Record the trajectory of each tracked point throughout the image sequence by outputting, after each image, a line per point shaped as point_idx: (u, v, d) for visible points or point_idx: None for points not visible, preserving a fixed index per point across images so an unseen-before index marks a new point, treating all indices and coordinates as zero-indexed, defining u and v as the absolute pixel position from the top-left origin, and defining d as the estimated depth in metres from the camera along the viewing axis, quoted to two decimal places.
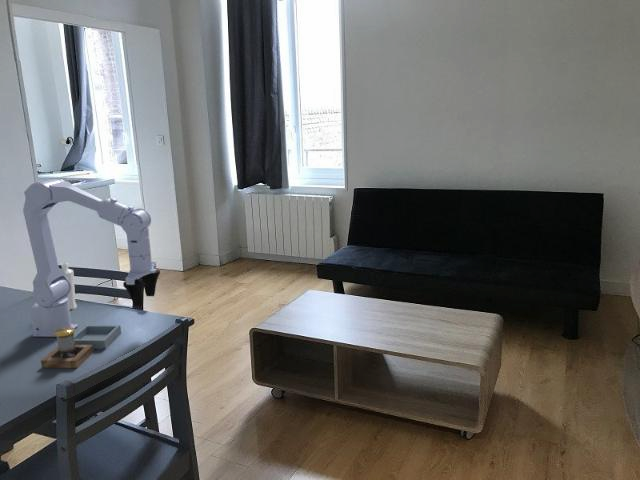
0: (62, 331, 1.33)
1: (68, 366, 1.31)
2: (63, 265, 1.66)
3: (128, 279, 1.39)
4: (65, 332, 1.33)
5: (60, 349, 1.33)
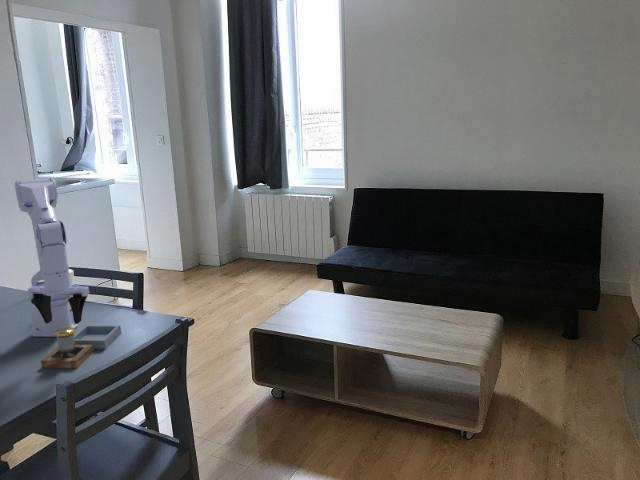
0: (62, 331, 1.33)
1: (68, 366, 1.31)
2: None
3: None
4: (65, 332, 1.33)
5: (60, 349, 1.33)
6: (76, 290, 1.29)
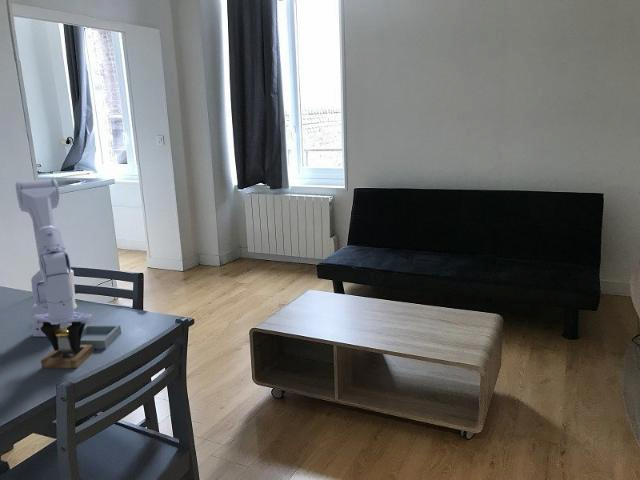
0: (62, 331, 1.33)
1: (68, 366, 1.31)
2: None
3: None
4: (65, 332, 1.33)
5: (60, 349, 1.33)
6: (80, 318, 1.31)
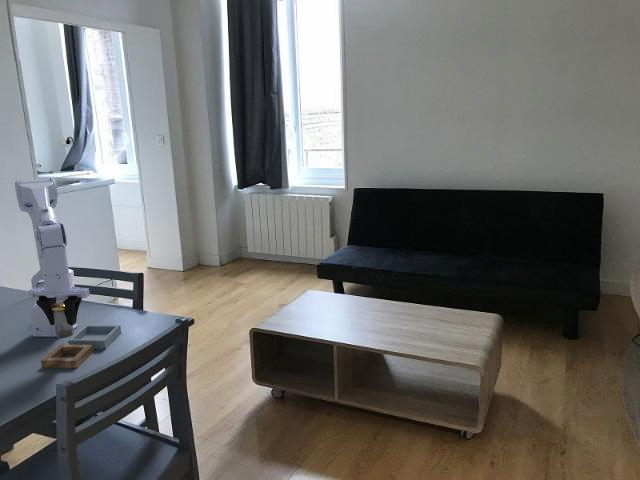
0: (58, 305, 1.32)
1: (68, 366, 1.31)
2: None
3: None
4: (61, 306, 1.31)
5: (56, 323, 1.31)
6: (76, 292, 1.29)
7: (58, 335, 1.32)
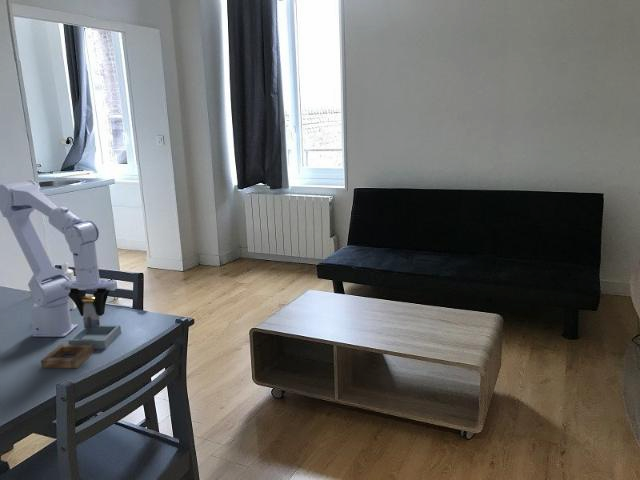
0: (88, 297, 1.43)
1: (68, 366, 1.31)
2: (63, 265, 1.66)
3: None
4: (91, 298, 1.42)
5: (85, 314, 1.42)
6: (105, 285, 1.40)
7: (86, 325, 1.42)
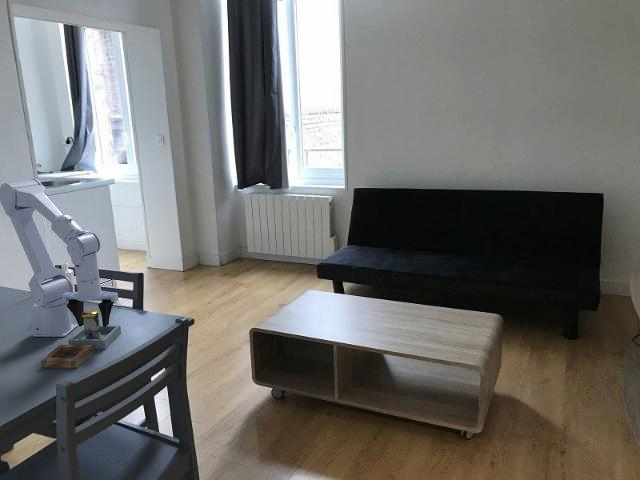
0: (88, 313, 1.43)
1: (68, 366, 1.31)
2: (63, 265, 1.66)
3: None
4: (91, 313, 1.43)
5: (86, 329, 1.43)
6: (106, 296, 1.41)
7: None
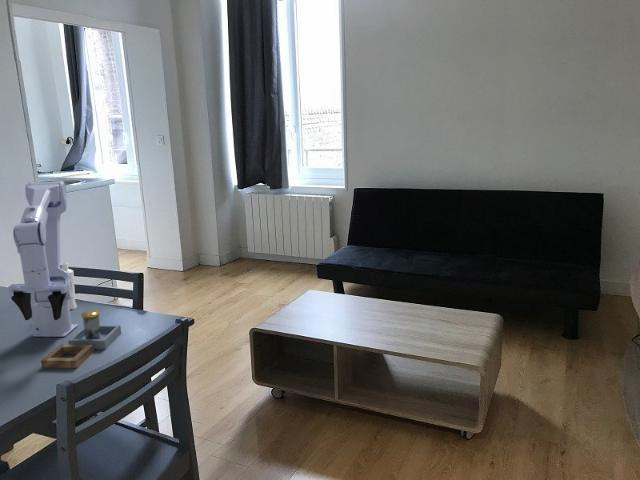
0: (88, 313, 1.43)
1: (68, 366, 1.31)
2: (63, 265, 1.66)
3: None
4: (91, 314, 1.42)
5: (86, 330, 1.43)
6: (55, 287, 1.34)
7: None
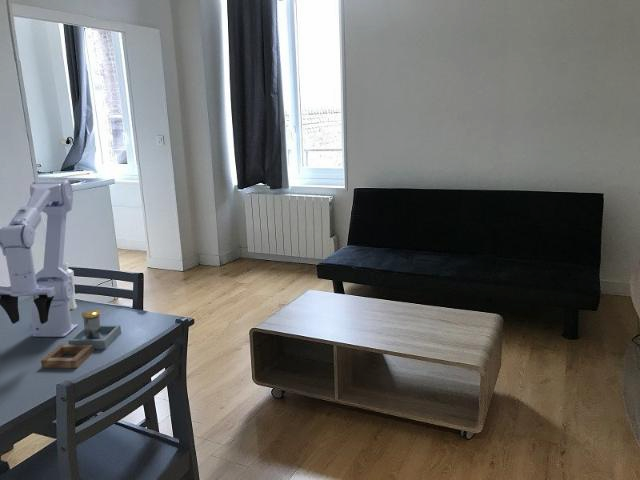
0: (89, 313, 1.43)
1: (68, 366, 1.31)
2: (63, 265, 1.66)
3: None
4: (92, 314, 1.42)
5: (86, 330, 1.43)
6: (42, 291, 1.32)
7: None
